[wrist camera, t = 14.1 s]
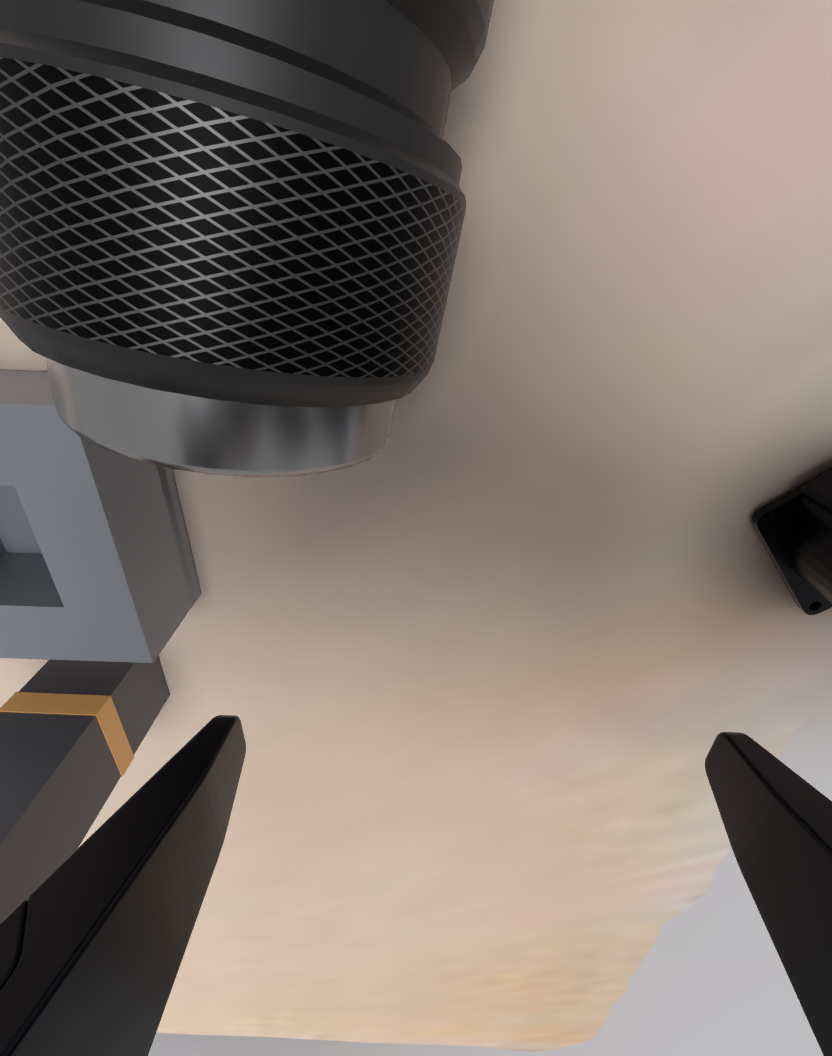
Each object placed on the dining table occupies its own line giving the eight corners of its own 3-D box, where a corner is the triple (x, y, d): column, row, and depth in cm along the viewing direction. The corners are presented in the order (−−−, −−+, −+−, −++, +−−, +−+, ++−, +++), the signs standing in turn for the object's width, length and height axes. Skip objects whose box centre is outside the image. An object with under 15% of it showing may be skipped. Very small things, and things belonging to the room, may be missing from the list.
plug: (153, 637, 24) (-32, 888, 14) (171, 695, 26) (18, 950, 16) (71, 634, 24) (-169, 883, 14) (95, 692, 26) (-102, 945, 16)
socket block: (149, 374, 18) (69, 405, 14) (201, 593, 22) (153, 663, 19) (-119, 366, 18) (-276, 394, 14) (-11, 586, 23) (-104, 654, 19)
